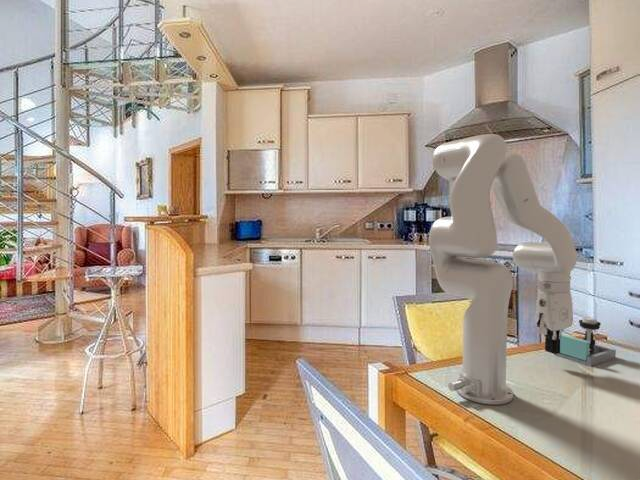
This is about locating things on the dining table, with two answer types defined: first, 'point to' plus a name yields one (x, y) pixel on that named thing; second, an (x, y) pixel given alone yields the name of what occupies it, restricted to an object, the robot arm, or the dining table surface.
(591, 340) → the push button
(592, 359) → the tray
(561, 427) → the dining table surface
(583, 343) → the clamp jaw
